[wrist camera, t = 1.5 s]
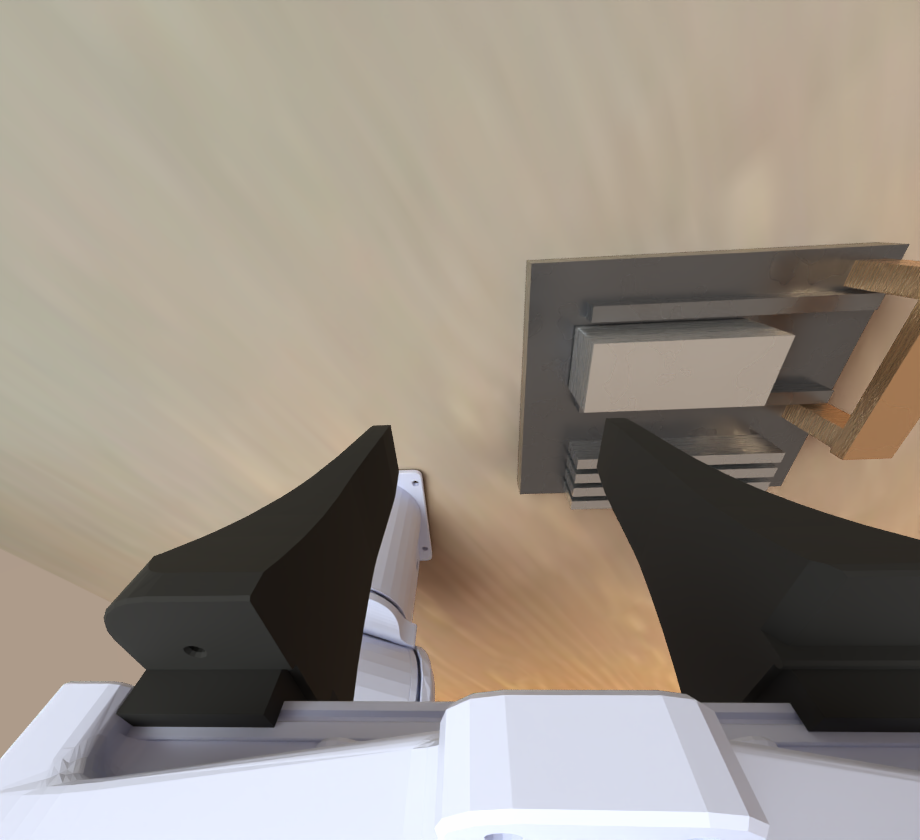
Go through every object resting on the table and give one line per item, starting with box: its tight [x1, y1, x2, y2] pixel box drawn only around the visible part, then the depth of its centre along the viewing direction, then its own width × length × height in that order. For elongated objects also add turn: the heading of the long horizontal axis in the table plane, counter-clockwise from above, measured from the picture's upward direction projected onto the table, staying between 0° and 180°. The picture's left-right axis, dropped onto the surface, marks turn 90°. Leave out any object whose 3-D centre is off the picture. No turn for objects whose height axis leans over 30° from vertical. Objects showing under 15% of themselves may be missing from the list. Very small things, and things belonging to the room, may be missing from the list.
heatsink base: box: [517, 242, 920, 509], centre depth 19 cm, size 15×18×6 cm
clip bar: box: [569, 319, 795, 413], centre depth 18 cm, size 4×9×3 cm, turn 93°
